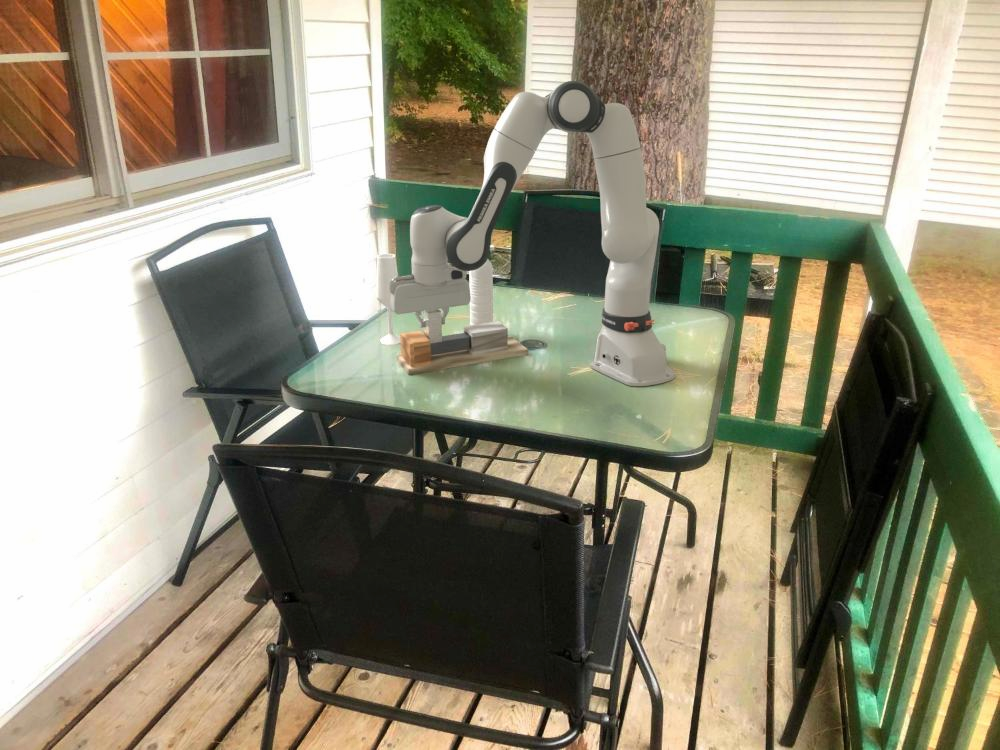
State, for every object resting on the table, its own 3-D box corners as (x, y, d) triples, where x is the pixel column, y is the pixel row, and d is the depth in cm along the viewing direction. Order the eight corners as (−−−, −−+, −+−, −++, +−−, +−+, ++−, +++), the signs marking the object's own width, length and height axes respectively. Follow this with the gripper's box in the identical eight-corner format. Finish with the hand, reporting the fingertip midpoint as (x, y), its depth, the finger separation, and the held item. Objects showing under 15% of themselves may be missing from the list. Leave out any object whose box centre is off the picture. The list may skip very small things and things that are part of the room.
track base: (527, 354, 204) (528, 327, 201) (408, 374, 192) (407, 346, 189) (511, 342, 212) (512, 315, 209) (396, 360, 200) (395, 333, 197)
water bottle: (484, 342, 212) (483, 253, 202) (465, 337, 216) (463, 250, 206) (502, 333, 219) (502, 246, 209) (483, 328, 222) (482, 243, 212)
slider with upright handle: (495, 345, 202) (495, 304, 198) (415, 358, 194) (413, 315, 190) (489, 340, 206) (489, 299, 201) (410, 353, 198) (408, 310, 193)
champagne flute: (387, 346, 209) (382, 260, 200) (374, 340, 214) (368, 255, 205) (408, 340, 214) (403, 256, 204) (394, 334, 218) (389, 251, 209)
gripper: (392, 280, 183) (396, 335, 189) (472, 271, 191) (473, 323, 196) (385, 274, 188) (388, 327, 194) (463, 264, 196) (464, 316, 201)
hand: (431, 325), depth 195 cm, fingers open, 4 cm apart
